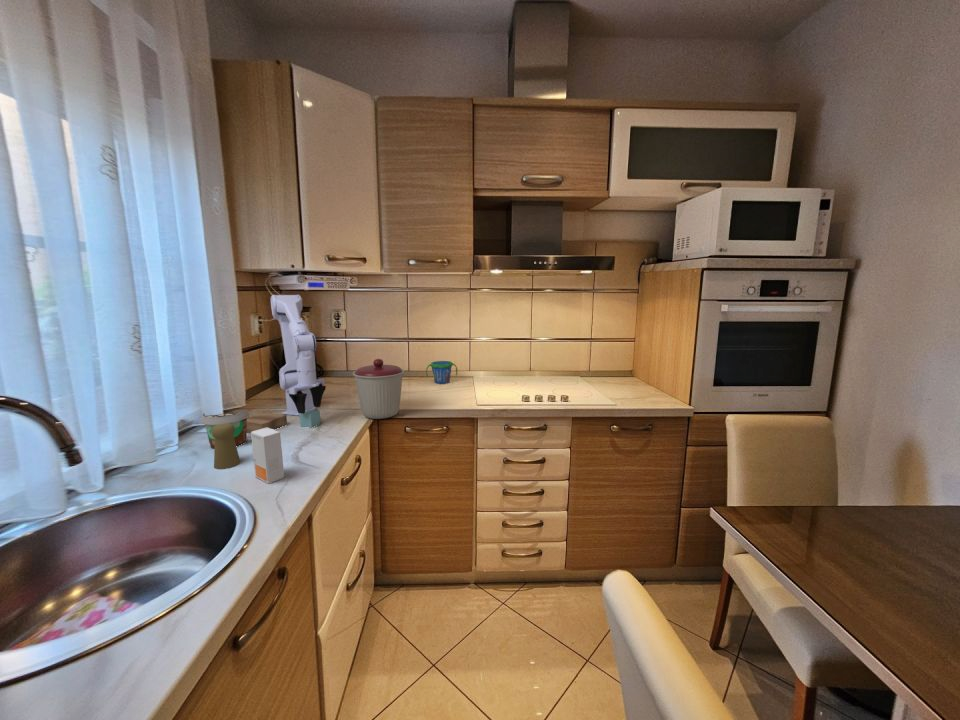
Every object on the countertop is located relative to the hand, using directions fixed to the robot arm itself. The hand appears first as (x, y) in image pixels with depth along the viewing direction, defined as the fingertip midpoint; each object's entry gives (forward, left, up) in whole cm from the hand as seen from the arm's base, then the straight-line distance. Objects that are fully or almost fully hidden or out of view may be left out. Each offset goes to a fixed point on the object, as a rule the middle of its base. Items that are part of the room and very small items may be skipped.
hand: (309, 409), depth 134 cm
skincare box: (+35, +17, -6) cm, 39 cm away
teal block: (0, 0, -6) cm, 6 cm away
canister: (-17, +17, -6) cm, 25 cm away
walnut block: (+7, -13, -6) cm, 16 cm away
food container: (+23, -11, -6) cm, 26 cm away
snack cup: (-72, +19, -6) cm, 75 cm away
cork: (+32, 0, -6) cm, 32 cm away
